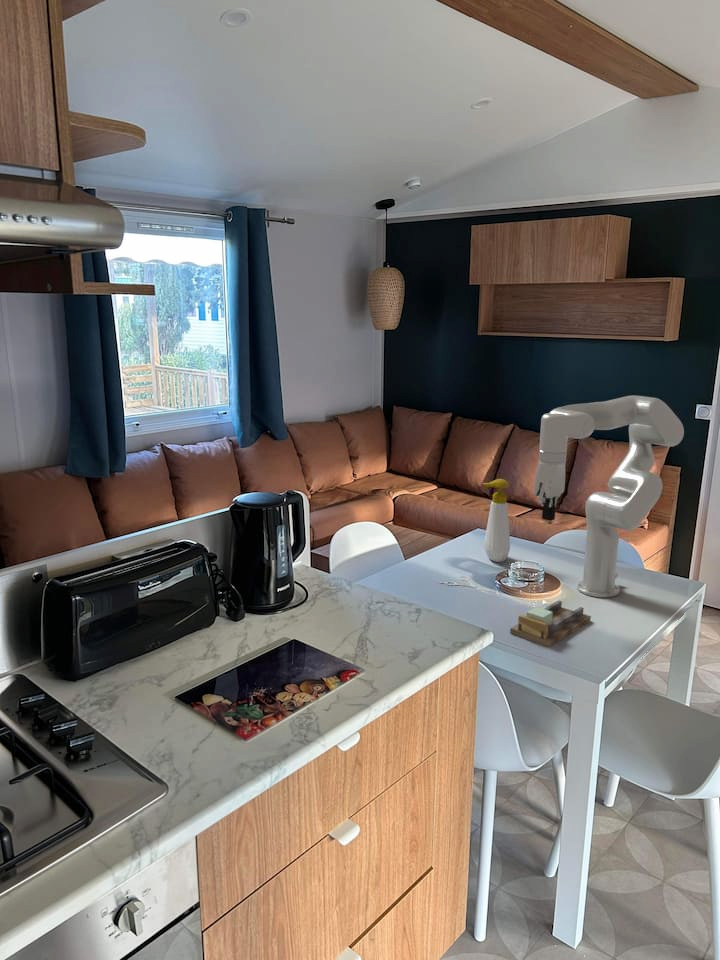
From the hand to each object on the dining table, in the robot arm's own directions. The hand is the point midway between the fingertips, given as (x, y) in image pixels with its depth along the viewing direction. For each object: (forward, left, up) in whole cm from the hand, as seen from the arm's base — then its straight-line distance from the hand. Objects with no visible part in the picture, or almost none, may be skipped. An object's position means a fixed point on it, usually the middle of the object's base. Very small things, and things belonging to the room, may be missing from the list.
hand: (548, 519), depth 213 cm
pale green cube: (+18, +9, -25) cm, 32 cm away
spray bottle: (-26, -34, -27) cm, 51 cm away
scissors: (+1, -24, -28) cm, 37 cm away
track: (+11, +9, -27) cm, 31 cm away
